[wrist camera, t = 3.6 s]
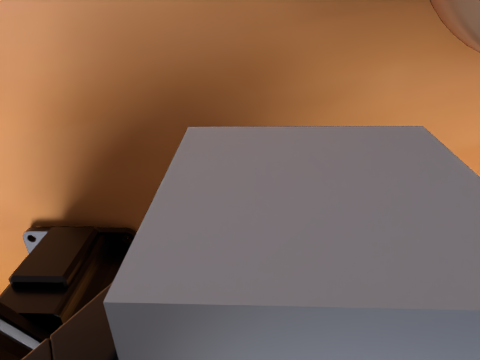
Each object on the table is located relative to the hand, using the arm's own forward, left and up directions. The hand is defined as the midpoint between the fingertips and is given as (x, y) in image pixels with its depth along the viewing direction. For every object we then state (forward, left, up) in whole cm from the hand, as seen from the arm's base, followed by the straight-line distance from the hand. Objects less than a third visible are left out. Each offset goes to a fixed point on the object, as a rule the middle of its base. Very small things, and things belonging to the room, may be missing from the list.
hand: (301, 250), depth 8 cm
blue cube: (0, 0, -1) cm, 1 cm away
